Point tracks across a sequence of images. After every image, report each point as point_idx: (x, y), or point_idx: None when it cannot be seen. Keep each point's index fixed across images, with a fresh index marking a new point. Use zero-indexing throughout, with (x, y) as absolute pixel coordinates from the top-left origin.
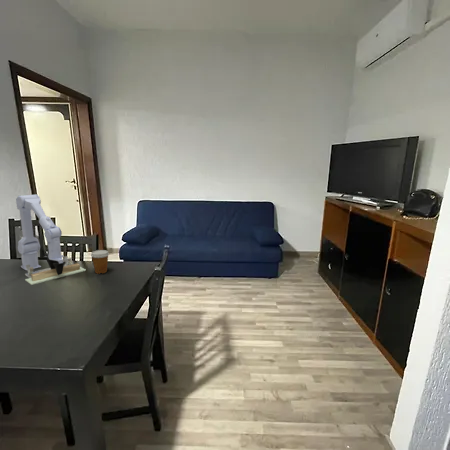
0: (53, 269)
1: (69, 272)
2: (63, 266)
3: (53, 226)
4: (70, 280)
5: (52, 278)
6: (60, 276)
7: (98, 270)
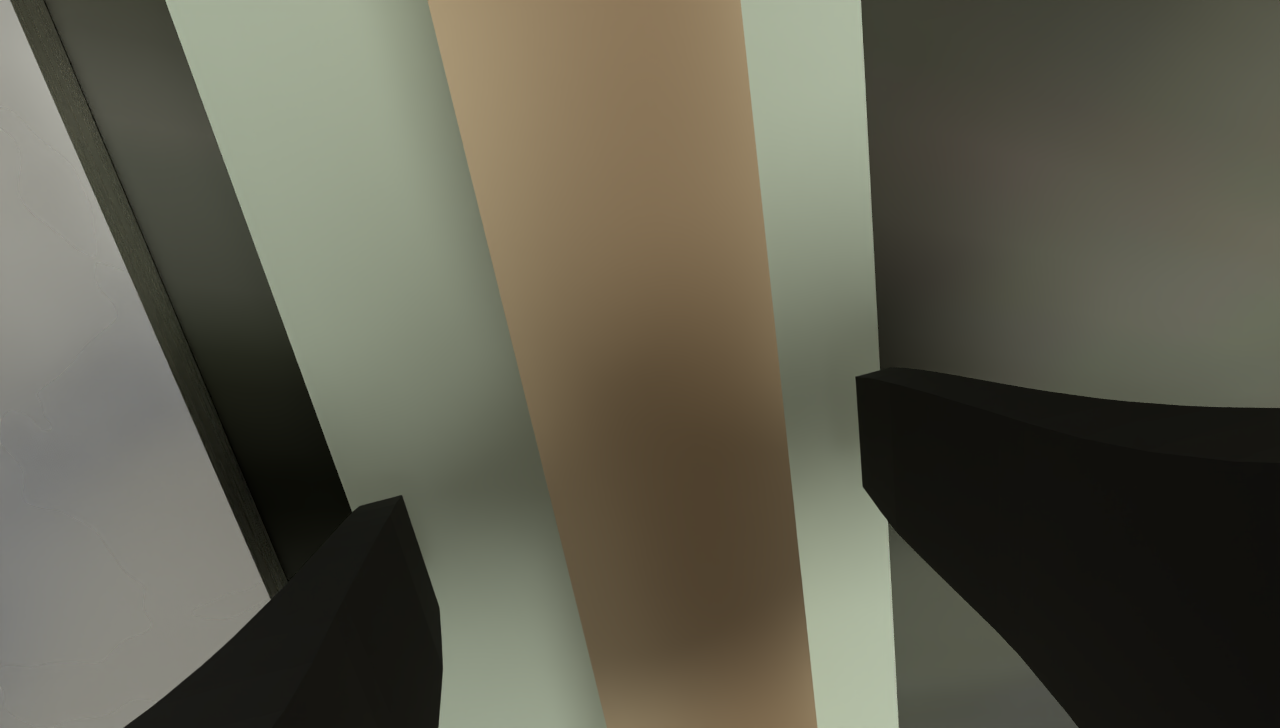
0: (655, 659)
1: None
2: (1226, 418)
3: None
4: (1238, 202)
5: (890, 581)
6: None
7: None
